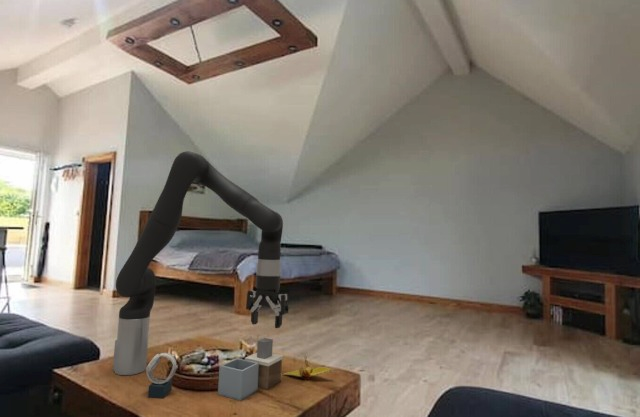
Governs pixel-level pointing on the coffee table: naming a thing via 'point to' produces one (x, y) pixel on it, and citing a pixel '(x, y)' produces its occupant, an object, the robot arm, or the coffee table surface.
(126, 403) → the coffee table surface
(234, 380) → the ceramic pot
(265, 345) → the lid
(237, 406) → the coffee table surface
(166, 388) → the watch
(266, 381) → the walnut box
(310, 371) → the origami crane
